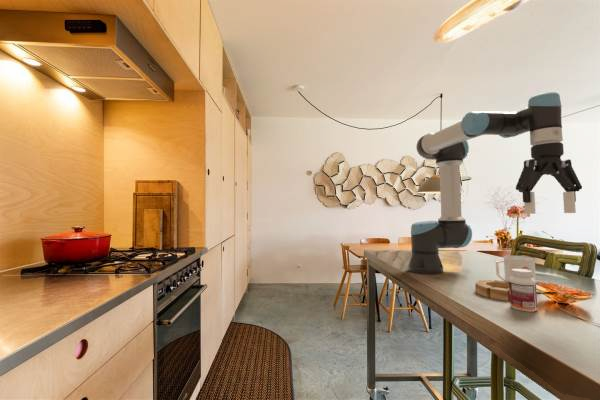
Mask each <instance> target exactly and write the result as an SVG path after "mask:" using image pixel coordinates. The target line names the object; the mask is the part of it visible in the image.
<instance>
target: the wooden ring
mask: <svg viewBox="0 0 600 400" xmlns="http://www.w3.org/2000/svg"><path fill="white" fill-rule="evenodd" d="M474 285H475V293H476V294H478V295H481V296H483V297H486V298H490V299H493V300H494V299H495V300H501V301H507V302H508V301H510V290H509V282H506V281H503V280H496V279H494V280H492V279H484V280H482V279H481V280H480V279H479V280H476V282H475V284H474Z"/></svg>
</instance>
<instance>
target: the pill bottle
mask: <svg viewBox="0 0 600 400" xmlns="http://www.w3.org/2000/svg"><path fill="white" fill-rule="evenodd" d="M512 275H513V276H512V277H510V278H509V290H510V300H509V304H510V307H511V308H512V309H514V310H517V311H522V312H529V313H531V312H536V311H537V310H538V298H537V297H538V296H537V295H538V294H537V293H536V291H537V280H536V281H535V280H534V279H533V278H531V276H532V271H530V270H526V269H512Z"/></svg>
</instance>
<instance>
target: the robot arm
mask: <svg viewBox="0 0 600 400" xmlns="http://www.w3.org/2000/svg"><path fill="white" fill-rule="evenodd" d="M527 103H528V104H527V107H525V108H523V109H520V110H518V111H510V112H509V111H484V110H483V111H482V110H481V111H480V110H477V111H469V112H467V113H465V115H464V116H463V117H462V119H461V121H458V122H456V123H454V124H452V125H450V126H447V127H445V128H443V129H441V130H439V131H437V132H434V133H433V132H429V133H426V134H424V135H423V136H421V137H420V138H419V139H418V141H417V143H416V151H417V153H418V155H419V156H420V157H422V159H426V160H435V164H436V166H437V167H439V185H440V186H439V188H440V189H439V190H440V214H441V216H440V217H439V218H438V219H437V220H427V221H426V220H425V221H424V220H423V221H418V222H414V223H412V224H411V226H410V237H411V238H410V239H411V241H410V243H411V256H410V259H409V261H408V265H407V266H408V267H407V269H408V270H407V271H408V272H412V273H414V274H422V275H441V274H443V273H444V266H443V264H442V261H441V258H440V256H439V249H459V248H460V249H461V248H465V247H467V246H468V245H469V244H470V243H471V241H472V238H473V230H472V228H471V225H470V224H469V223H466V218H464V217H463V216H462V215H463V214H462V195H461V194H462V193H461V191H462V190H461V170H460V169H461V167H460V166H461V165H462V164H463V163H464V159H466V158H467V156H468V153H469V148H470V147H469V143H468V140H471V139H475V138H477V137H481V136H485V135H492V136H494V135H498V136H500V137H502V138H504V139H505V138H507V139H508V138H513V137H517V136H519V135H522V134H525V133H527V132H529V143H530V146H531V147H530V155H531V156H530V157H531V159H526V160H524V161H523V168H522V171H521V173H520V175H519V179H518V181H517V182H516V185H515V190H516V191H518V192H519V193H522V202H523V204H524V215H525V214H526V215H527V214H528V215H529V214H530V215H533V214H536V197H535V196H536V195H535V191H533V189H534V187H535V186H536V185H537V184H538V182H539V181H540V180H541V178H542V176H544V175H546V176H548V175H549V176H551V177H553V178H555V180H556V181H557V182H558V183H559V185H560V186H561V187H562V188H563V190H564V191H563V192H562V200H563V213H564V214H576V213H577V212H576V201H577V197H576V196H577V194H576V192H580V190H582V189H583V186H582V184H581V182H580V180H579V178H578V176H577V174H576V171H575V170H574V168H573V166H572V160H571V159H563V160H562V156H564V154H565V153H564V151H565V150H564V144H563V141H564V139H563V124H562V107H563V106H562V102H561V96H560V93H558V92H555V91H554V92H553V91H547V92H542V93H539V94H536V95H533V96H531V97H530V98H529V100H528V102H527Z"/></svg>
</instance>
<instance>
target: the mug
mask: <svg viewBox="0 0 600 400" xmlns="http://www.w3.org/2000/svg"><path fill="white" fill-rule="evenodd" d="M535 259H536V258H534V257H531V256H525V255H504V256H503V260H497V261H494V264H495V273H496V276H497V278H498V279H500V280H501V281H506V282H509V278H510V277H512V276H513V275H512V269H526V270H530V271H532V276H531V278H533V279H534V280H535V281H536V282H537V280H536V279H537V278H536V261H535ZM500 263H503V267H504V271H503V272H504V277H501V275H500V269H499V267H500V266H499V264H500Z"/></svg>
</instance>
